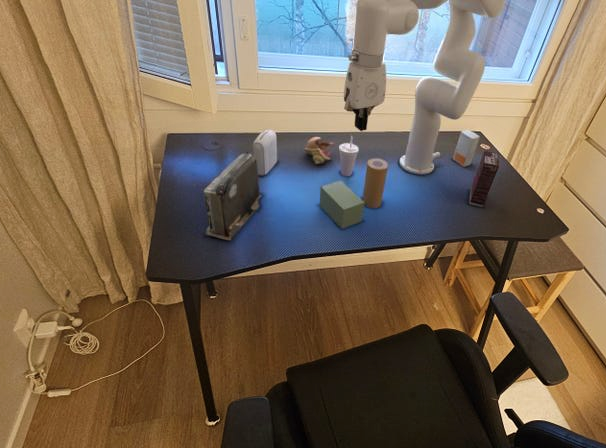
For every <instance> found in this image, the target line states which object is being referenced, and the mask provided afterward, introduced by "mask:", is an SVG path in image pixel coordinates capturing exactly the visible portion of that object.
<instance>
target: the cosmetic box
mask: <svg viewBox="0 0 606 448" xmlns="http://www.w3.org/2000/svg"><path fill="white" fill-rule="evenodd" d="M480 139H481V136H480V135H478V134H477V133H475V131H474V132H473V131H472V130H470V129H465V130H461V132H460V134H459V138H458V141H457V144H456V147H455V150H454V154H453V156H452V160H453V161H455V163H458V164H459V165H460V166H462V167H463V168H464V167H467V166H470V165H471V164H472V161H473V159H474V155H475V153H476V150H477V147H478V144H479V141H480Z"/></svg>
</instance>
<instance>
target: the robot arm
mask: <svg viewBox="0 0 606 448" xmlns="http://www.w3.org/2000/svg"><path fill="white" fill-rule="evenodd" d="M447 2H448V4H449V5H448V6H449V13H450V14H449V23H448V26H447V29H446V32H445V34H444V36H443V38H442V41H441V43H440V45H439V47H438V49H437V52H436V54H435V56H434V59H433V67H432V68H433V70H434V71H435V72H436V73H438V74H439V75H441V76H443V77H446V78H447V79H451V80H452V81H455V82H458V83H457V85H455V84H452V83H449V82H447V81H445V80H443V79H441V78H439V77H434V76H424V77H422V78H421V79H419V81H418V83H417V84H416V87H415V90H414V108H413V109H414V110H413V117H412V121H411V126H410V131H409V136H408V140H407V144H406V151H405V154H403V155H402V156H400V158H399V166H400V167H401V168H402V169H403V170H405V171H406V172H407V173H411V174H415V175H421V176H423V175H429V174H430V173H432V172H433V171H434V169H435V163H434V162H433V161H434V160H435V159H438V158H440V157H441V153H440V152H439V151H437V152H435V153H434V151H435V148H436V144H437V141H438V136H439V133H440V129H441V125H442V119H441V118H442V117H441V116H443V117H446V118H447V119H449V120H452V121H453V120H454V121H455V120H456V121H457V120H459V119H460V118H462V117H463V115H464V114H465V112H466V111H467V109H468V107H469V105H470V103H471V101H472V99H473V96H474V95H475V92H476V90H477V89H478V87H479V84H480V82H481V81H482V78H483V75H484V73H485V69H486V61H485V58H484V56H483V55H482V54H480V53H479V52H477V51H474V50H471V49H470V47H471V45H472V43H473V41H474V38H475V36H476V31H477V30H476V21H475V17H474V15H477V16H481V17H483V18H488V19H493V18H496V17H498V16H499V15H500V14H501V13H502V11H503V10H504V7H505V5H506V2H507V0H357V1H356V5H355V14H354V25H353V26H354V27H353V38H352V40H353V41H352V49H351V50H352V51H351V54H349V55H348V57H347V58H348V61H350V62H349V64H348V66H347V70H346V75H345V76H346V77H345V80H344V88H343V101H344V102H345V103H344V107H343V109H344V110H345V111H346V112H350V113H352V112H353V114H355V115H354V127H355V128H356V129H357V130H359V131H360V132H364V131H367V130H368V129H367V127H368V120H369V116H371V113H372V111H373V110H374V108H376V107H378V106H380V105H382V104H383V103H384V102H385V98H386V91H387V67H386V63H385V62H384V60H385V52H386V45H387V37H388V35H396V36H397V35H398V36H404V35H407V34H409V33H411V32H413V30H414V29H415V28H416V27H417V24H418V22H419V18H420V12H419V10H435V9H438V8H439V7H441V6H442V5H443V4H445V3H447Z"/></svg>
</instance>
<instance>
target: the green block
mask: <svg viewBox="0 0 606 448" xmlns="http://www.w3.org/2000/svg"><path fill="white" fill-rule="evenodd" d="M319 190H320V192H319V206H320V208H321V209H322V210H323V211H324V212H325V213H326V214H327V215H328V216H329V217H330V218H331V219H332V220H333V221H334V223H336V225H338V227H339V228H340V229H342V230H343V229H345V228H348V227H351V226H353V225H356V224H359V223H361V222H363V217H364V208H365V205H364V203H365V202H364V201H363V200H362V199H363V198H361V197H360V196H358V195H357V193H355V192H354V191H353V190H352V189H351V188H350V187H349V186H348V185H347V184H345V182H344V181H342V180H341V179H340V180H338V181H334V182H331V183H328V184H324V185H321V186H320V189H319Z"/></svg>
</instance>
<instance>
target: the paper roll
mask: <svg viewBox="0 0 606 448" xmlns="http://www.w3.org/2000/svg"><path fill="white" fill-rule="evenodd" d="M388 168H389V163H388V162H387V161H386V160H384V159H383V158H378V157H377V158H376V157H375V158H370V159H368V161H367V162H366V171H365V177H364V178H365V179H364V184H363V185H364V186H363V192H362V198H361V199H362V200H363V201H364V202H365V203H364V207H366V208H369V209H377V208H380V207H381V206H382V202H383V197H384V191H385V185H386V179H387V176H388V175H387V174H388Z"/></svg>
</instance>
